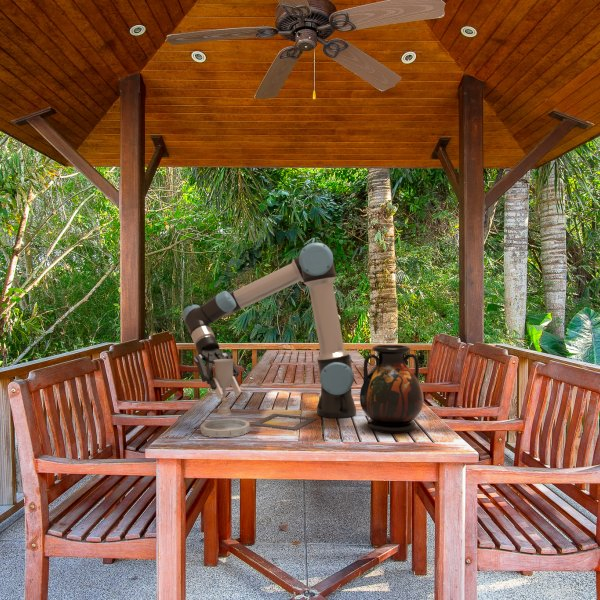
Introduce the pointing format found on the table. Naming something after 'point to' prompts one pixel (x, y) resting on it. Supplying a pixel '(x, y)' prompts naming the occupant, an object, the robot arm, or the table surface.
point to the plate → (224, 427)
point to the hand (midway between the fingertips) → (229, 395)
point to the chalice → (223, 381)
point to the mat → (307, 421)
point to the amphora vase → (391, 390)
